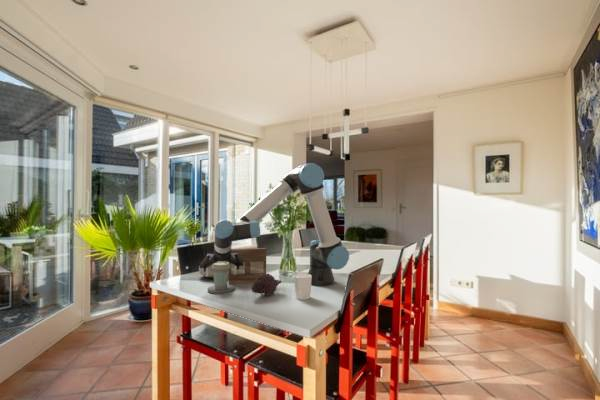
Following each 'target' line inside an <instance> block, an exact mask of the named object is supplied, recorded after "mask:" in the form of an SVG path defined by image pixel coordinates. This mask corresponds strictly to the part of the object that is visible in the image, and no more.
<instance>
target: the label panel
mask: <svg viewBox="0 0 600 400" xmlns="http://www.w3.org/2000/svg"><path fill="white" fill-rule="evenodd" d="M235 251H237V254H238V255H239V257H240V258H241V259H242V260H243V266H239V267H240V268H239V270H237V271H236V275H234V268H235V265H234V264H232V263H230V262H228V263H229V265H230V268H229V276H228V284H229V285H245V284H247V285H248V284H254V283H255V282H256V280H257V278H258V277H259V276H260V275H263V274H267V247H260V248H259V247H258V248H256V247H254V248H253V247H252V248H231V253H235ZM232 257H233V256H232ZM233 258H234V257H233ZM234 259H235V258H234Z"/></svg>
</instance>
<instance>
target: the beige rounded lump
mask: <svg viewBox="0 0 600 400" xmlns="http://www.w3.org/2000/svg"><path fill="white" fill-rule="evenodd" d="M209 260H210V259H209ZM218 262H228V261H218ZM216 263H217V262H216ZM212 266H213V264H212V265H211V266H209V267H208V276H207V277H206V272H204V268H200V265H199V266H198V272H199V274H200V275H202V276H203V277H204V278H213V279H214V275H213V268H212Z"/></svg>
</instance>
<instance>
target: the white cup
mask: <svg viewBox="0 0 600 400" xmlns="http://www.w3.org/2000/svg"><path fill="white" fill-rule="evenodd" d="M311 281H312V275H310V274H308V273H296V274H294V292H295V298H296V299H297V300H301V301H306V300H309V299H311V292H312V285H311Z"/></svg>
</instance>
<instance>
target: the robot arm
mask: <svg viewBox="0 0 600 400" xmlns="http://www.w3.org/2000/svg"><path fill="white" fill-rule="evenodd" d="M324 179H325V173H324V171H323V169H322V167H321V166H320V165H318V164H317V163H312V162H310V163H309V162H308V163H304V164H300V165H297V166H295V167H293V168H291V169H290V170H289V171H288V172H287V173H286V174H285V175H284V176H283V177H282V178H281V179H279V183H278V184H277V185H276V186H274V188H272V189H271V190H270V191H269V192H268V193H267V194H266V195H264V196H263V197H262V198H261V199H260V200H259V201H258V202H256V203H255V204H254V205H253V206H252V207H251V208H249V210H247V211H246V212H245V213H244V214H242V216H240V217H239V218H238V219H236V220H234V221H233V222H232V221H230V220H227V219H222V220H220V221H217V222H216V224H215V228H214V241H213V243H214V248H213V249H214V250H213V253H210V251H209V252H207V253H206V255H205V257H204V258H203V259H202V260H201V261H200V262H199V266H200V268H204V272H206V277H205V278H208V277H207V276H208V267H209V266H211V265H212V264H214V263H216V262H218V261H227V262H228V263H229V262H230V263H232V264H234V265H235V268H234V275H236V271H237V270H239V268H240V267H239V266H243V260H242V259H241V258H240V257H239V255H238V254H237V251H235V253H231V249H232V245H233V242H237V241H243V240H244V241H245V240H249V239H250V240H251V239H254V238H255V239H256V238H258V237H260V235H261V226H260V223H259V222H260V221H261V220H263V219H264V218H265V217H266V216H267V215H268V214H269V213H271V211H273V210H274V209H275V208H276V207H277V206H278V205H279V204H280V203H281V202H282V201H284V200H285V199H286V198H287V197H288V196H290V195H293V194H294V193H296V192H297V191H300V195H301V196H304V197H305V201H306V203H307V207H308V209H309V212H310V215H311V218H312V223H313V225H314V228H315V231H316V234H317V236H318V239H315V240H311V241H310V244H309V268H308V269H309V270H308V273H307V274H310V275H312V281H311V286H312V285H313V286H317V287H318V286H320V287H321V286H331V285H332V286H333V285H334V284H335V276H334V273H333V271H332V270H341V269H343V268H344V267H346V265H347V264H348V262H349V259H350V253H349V250H348V249H347V248H346V246H344V245H343V244H342V241H341V238H340V237H338V236H337V234H336V232H335V229H334V228H335V227H334V225H333V223H332V219H331V216H330V212H329V209H328V207H327V204H326V200H325V196H324V193H323V190H324V188H325V187H324V184H323V183H324ZM232 256H233V257H234V258H235V259H234V258H233V257H232ZM209 259H210V260H209Z"/></svg>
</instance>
